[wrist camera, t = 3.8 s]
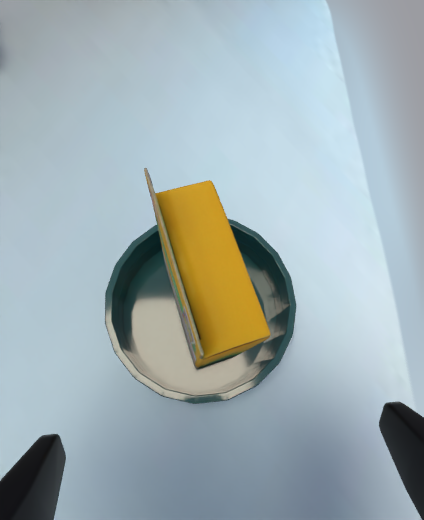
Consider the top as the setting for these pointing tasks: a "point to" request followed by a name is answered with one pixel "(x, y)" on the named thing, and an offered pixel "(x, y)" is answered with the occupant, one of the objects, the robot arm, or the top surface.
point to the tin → (171, 330)
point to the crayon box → (207, 274)
